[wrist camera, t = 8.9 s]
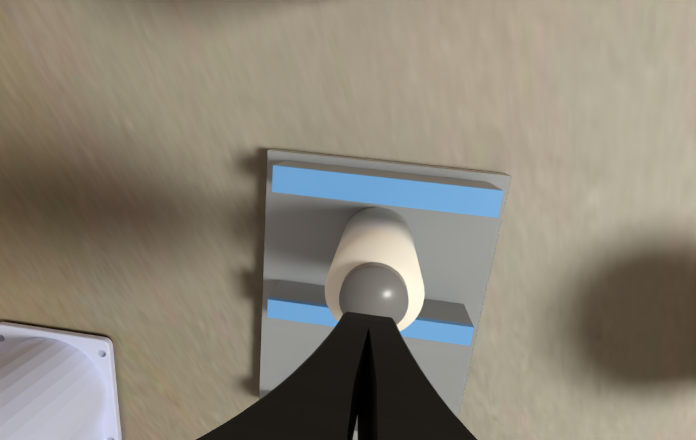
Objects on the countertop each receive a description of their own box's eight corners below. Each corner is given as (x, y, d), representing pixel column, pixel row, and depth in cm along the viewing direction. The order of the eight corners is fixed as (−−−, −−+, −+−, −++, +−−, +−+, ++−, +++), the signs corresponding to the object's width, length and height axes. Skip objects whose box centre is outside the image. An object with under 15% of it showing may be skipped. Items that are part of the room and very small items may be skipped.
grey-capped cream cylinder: (407, 276, 19) (418, 352, 13) (340, 268, 19) (318, 339, 13) (416, 210, 18) (433, 258, 12) (345, 203, 18) (325, 246, 12)
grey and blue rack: (450, 426, 23) (461, 476, 19) (263, 397, 23) (244, 440, 20) (505, 173, 18) (530, 184, 15) (273, 148, 19) (251, 154, 16)
